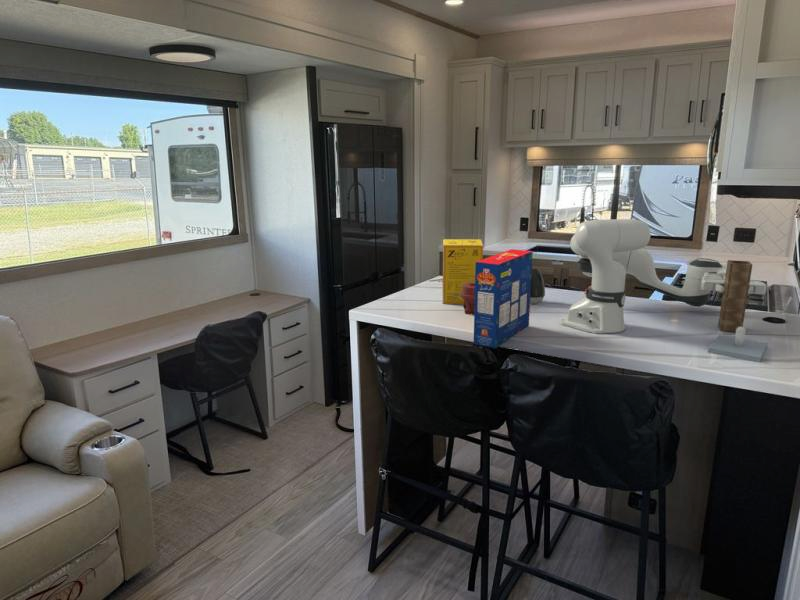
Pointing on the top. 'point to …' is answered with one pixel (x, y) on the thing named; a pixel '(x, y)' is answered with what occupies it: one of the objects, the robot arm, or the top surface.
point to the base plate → (738, 346)
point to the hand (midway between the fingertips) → (735, 291)
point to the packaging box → (459, 266)
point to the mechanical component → (468, 297)
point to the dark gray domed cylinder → (536, 287)
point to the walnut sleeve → (735, 295)
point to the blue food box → (502, 297)
